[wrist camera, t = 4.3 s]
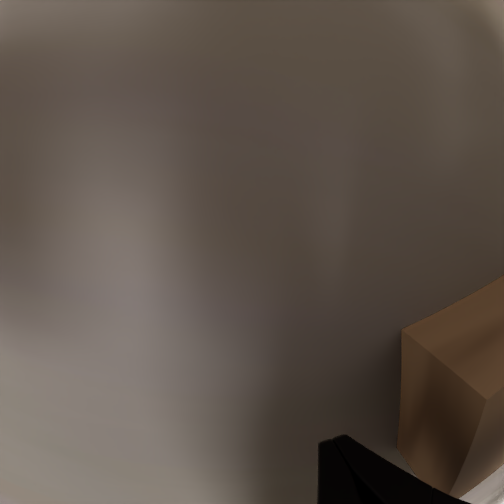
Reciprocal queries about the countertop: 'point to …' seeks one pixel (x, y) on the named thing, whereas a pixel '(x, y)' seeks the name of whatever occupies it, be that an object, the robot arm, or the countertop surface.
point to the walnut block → (455, 392)
